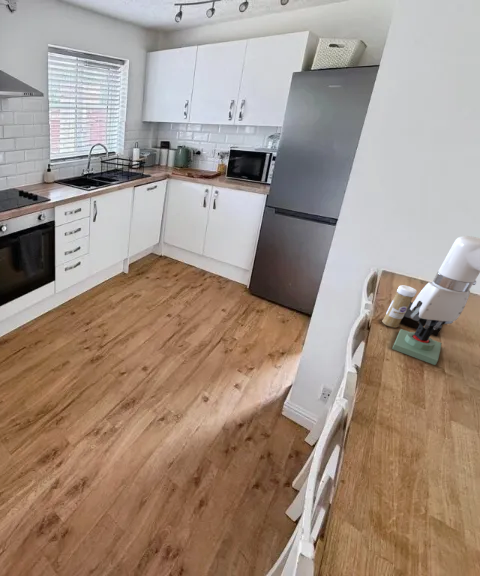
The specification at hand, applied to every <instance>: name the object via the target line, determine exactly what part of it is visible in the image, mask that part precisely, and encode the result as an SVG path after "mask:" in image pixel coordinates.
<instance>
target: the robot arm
mask: <svg viewBox="0 0 480 576" xmlns="http://www.w3.org/2000/svg"><path fill="white" fill-rule="evenodd" d="M445 256H446V257H445V258H444V260H443V261H442V263H441V265H440V267H439V269H438V270H437V273H436V274H435V276H434V278H433V280H432V281H429V282H428V283H426V284H425V285H424V286H423V288H422V289H421V291H420V292H419V293H418V294H417V295H416V297H415V299H414V301H412V303H413V304H412V306H411V308H410V310H411V311H413V313H412V314H411V315H410V318H411V319H413V320H415V321H418V323H419V324H420V325H419V327H418V328H417V329H415V331H414V332H415V336H417V337H418V338H419V339H420V340H424V341H427V340H428V339H429V338H431V336H432V335H431V334H432V332H433V330H436V329H438V327H439V326H441V325H442V326H444V325H451V324H453V323H454V322H455V321H457V320H458V319H459V317H460V316H461V315H462V313H463V311H464V309H465V307H466V305H467V303H468V300H469V297H470V294H471V288H472V287H473V286H476V285H477V278H478V277H479V275H480V237H478V236H472V235H471V236H470V235H461V236H458V237H457V238H456V239H454V242H453V243H452V245H451V247H450V248H449V250H448V253H447V254H446V255H445Z"/></svg>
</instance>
